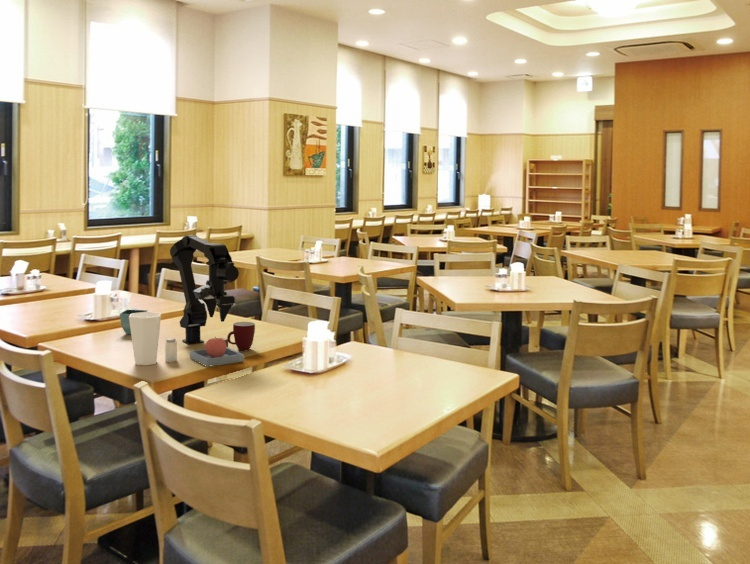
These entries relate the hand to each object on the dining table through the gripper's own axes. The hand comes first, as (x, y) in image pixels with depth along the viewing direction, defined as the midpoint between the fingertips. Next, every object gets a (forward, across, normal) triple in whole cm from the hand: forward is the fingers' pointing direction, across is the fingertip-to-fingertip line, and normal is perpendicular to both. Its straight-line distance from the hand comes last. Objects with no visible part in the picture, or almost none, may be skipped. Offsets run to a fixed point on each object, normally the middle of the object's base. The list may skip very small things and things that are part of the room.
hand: (216, 319), depth 269 cm
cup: (+12, +3, -28) cm, 31 cm away
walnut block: (+12, -1, +2) cm, 12 cm away
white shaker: (+12, +5, -20) cm, 24 cm away
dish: (+12, +12, -6) cm, 18 cm away
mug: (+12, +4, +8) cm, 15 cm away
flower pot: (+12, -43, -16) cm, 47 cm away
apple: (+12, +12, -6) cm, 18 cm away
